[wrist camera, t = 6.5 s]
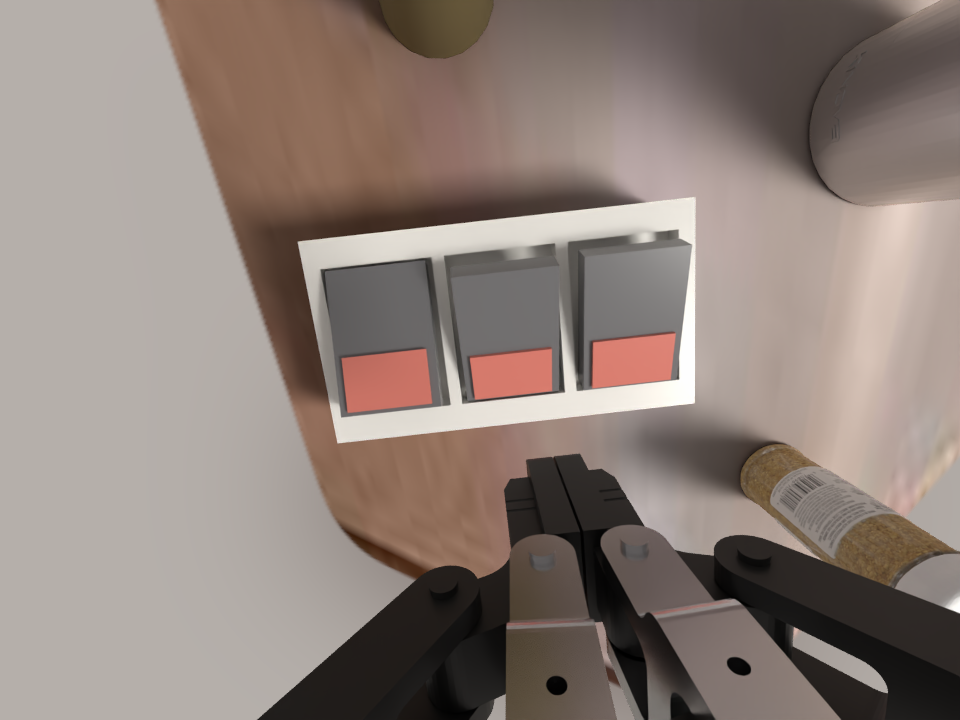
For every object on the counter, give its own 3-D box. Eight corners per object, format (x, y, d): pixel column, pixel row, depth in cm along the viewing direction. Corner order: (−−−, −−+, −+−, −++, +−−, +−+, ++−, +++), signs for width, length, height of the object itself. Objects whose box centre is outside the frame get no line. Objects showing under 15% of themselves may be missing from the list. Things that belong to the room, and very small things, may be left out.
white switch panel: (652, 205, 27) (695, 196, 22) (655, 376, 30) (694, 403, 24) (329, 242, 27) (297, 241, 22) (359, 409, 30) (337, 443, 25)
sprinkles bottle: (753, 513, 32) (948, 696, 19) (726, 462, 31) (913, 618, 18) (814, 481, 32) (1057, 646, 19) (789, 428, 31) (1028, 564, 18)
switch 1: (427, 265, 23) (424, 259, 22) (443, 404, 23) (440, 406, 22) (332, 276, 23) (323, 270, 22) (348, 414, 23) (339, 418, 22)
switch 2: (680, 238, 22) (694, 246, 20) (667, 368, 25) (678, 382, 24) (578, 250, 22) (585, 258, 20) (578, 378, 25) (584, 392, 24)
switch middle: (554, 255, 21) (560, 267, 20) (554, 377, 25) (559, 393, 24) (450, 266, 21) (450, 279, 20) (466, 386, 25) (467, 403, 24)
